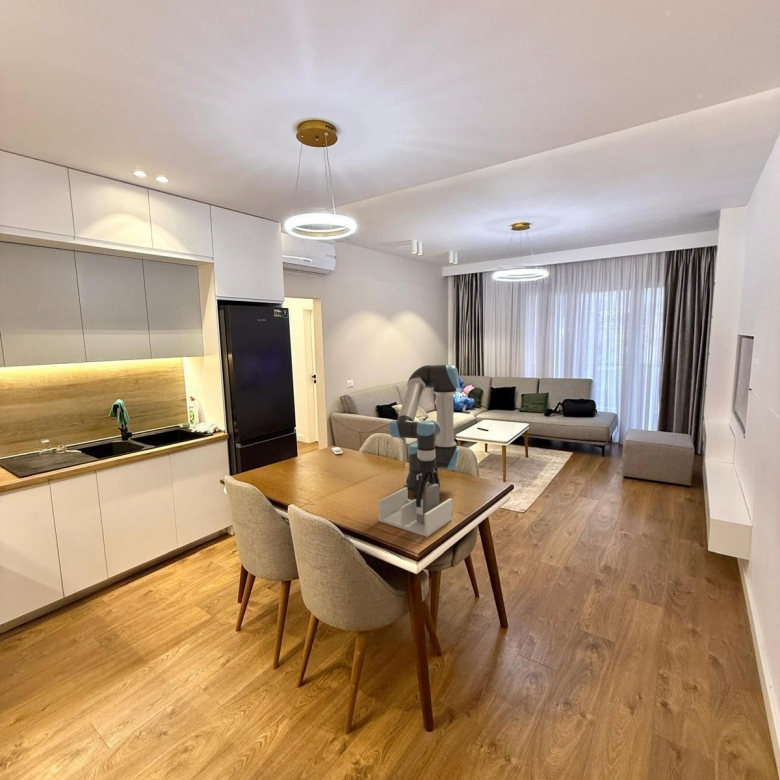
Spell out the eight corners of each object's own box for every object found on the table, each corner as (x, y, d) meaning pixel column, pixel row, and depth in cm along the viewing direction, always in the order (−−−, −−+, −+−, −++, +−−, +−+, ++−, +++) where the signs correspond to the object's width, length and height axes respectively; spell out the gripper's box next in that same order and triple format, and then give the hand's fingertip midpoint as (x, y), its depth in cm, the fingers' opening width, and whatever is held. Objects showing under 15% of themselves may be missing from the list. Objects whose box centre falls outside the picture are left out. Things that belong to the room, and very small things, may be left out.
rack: (405, 505, 192) (405, 487, 191) (452, 519, 177) (452, 498, 176) (378, 521, 177) (378, 500, 176) (427, 536, 161) (427, 514, 160)
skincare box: (426, 526, 168) (426, 489, 166) (415, 520, 173) (414, 484, 172) (441, 520, 173) (440, 484, 171) (429, 515, 179) (428, 480, 177)
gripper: (433, 451, 181) (434, 498, 184) (402, 463, 163) (404, 516, 166) (448, 453, 176) (448, 502, 179) (418, 467, 159) (419, 521, 161)
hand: (427, 509), depth 172 cm, fingers open, 10 cm apart
